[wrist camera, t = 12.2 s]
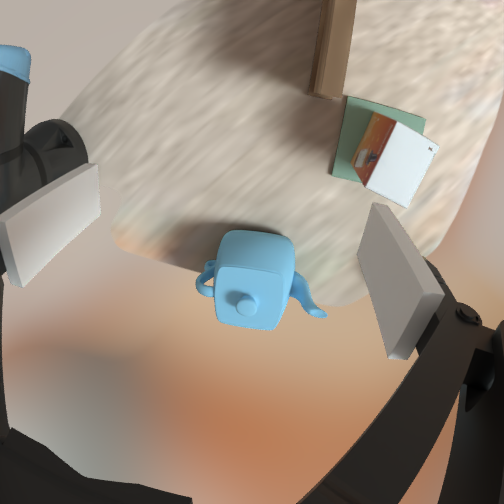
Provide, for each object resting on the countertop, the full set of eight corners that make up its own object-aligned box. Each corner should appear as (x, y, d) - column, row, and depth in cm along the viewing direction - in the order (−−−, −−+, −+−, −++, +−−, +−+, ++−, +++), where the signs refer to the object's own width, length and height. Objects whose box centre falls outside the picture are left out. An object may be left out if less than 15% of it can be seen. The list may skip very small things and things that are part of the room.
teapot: (316, 301, 52) (317, 352, 42) (209, 286, 53) (189, 333, 43) (331, 235, 45) (339, 279, 35) (209, 219, 47) (185, 258, 37)
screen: (307, 95, 36) (312, 97, 24) (325, -21, 28) (336, -65, 16) (331, 99, 36) (347, 105, 24) (348, -16, 27) (369, -57, 15)
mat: (331, 174, 41) (331, 176, 40) (347, 96, 35) (348, 96, 35) (405, 192, 40) (406, 194, 40) (424, 118, 35) (426, 119, 34)
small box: (373, 110, 35) (397, 118, 26) (409, 130, 36) (441, 145, 26) (348, 163, 39) (363, 187, 30) (384, 181, 40) (407, 210, 30)
